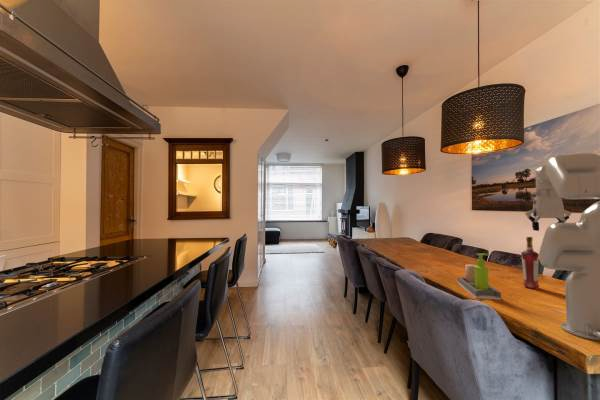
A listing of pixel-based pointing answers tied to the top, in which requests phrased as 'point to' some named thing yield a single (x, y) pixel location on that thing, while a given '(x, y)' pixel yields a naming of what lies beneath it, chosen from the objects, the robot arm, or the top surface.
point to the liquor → (530, 265)
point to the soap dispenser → (481, 273)
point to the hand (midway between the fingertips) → (548, 230)
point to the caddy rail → (469, 285)
